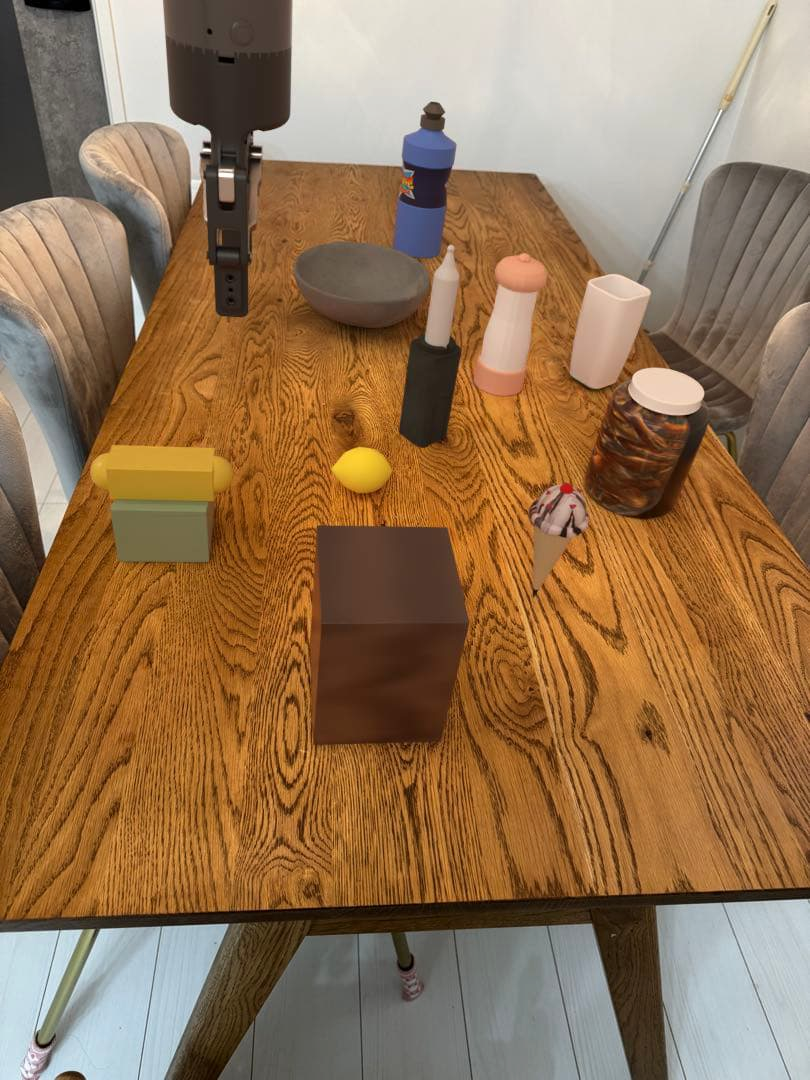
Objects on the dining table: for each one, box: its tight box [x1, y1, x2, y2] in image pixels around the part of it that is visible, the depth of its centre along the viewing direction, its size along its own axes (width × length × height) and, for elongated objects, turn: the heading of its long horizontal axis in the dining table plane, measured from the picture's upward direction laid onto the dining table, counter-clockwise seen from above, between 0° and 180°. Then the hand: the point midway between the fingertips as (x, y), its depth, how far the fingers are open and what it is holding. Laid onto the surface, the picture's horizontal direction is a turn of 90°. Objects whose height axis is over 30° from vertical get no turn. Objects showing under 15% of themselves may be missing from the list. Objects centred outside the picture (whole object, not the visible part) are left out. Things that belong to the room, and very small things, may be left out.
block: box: [109, 499, 216, 563], centre depth 84 cm, size 9×9×7 cm
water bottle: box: [392, 101, 457, 259], centre depth 146 cm, size 9×9×25 cm
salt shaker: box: [472, 252, 548, 397], centre depth 112 cm, size 7×7×19 cm
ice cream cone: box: [528, 482, 590, 599], centre depth 80 cm, size 6×6×15 cm
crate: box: [309, 524, 470, 746], centre depth 69 cm, size 11×11×15 cm
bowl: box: [292, 240, 431, 329], centre depth 127 cm, size 21×21×8 cm
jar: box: [583, 367, 711, 519], centre depth 97 cm, size 12×12×15 cm
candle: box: [398, 244, 462, 448], centre depth 98 cm, size 5×5×25 cm
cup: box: [569, 273, 652, 390], centre depth 118 cm, size 7×7×15 cm
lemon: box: [331, 446, 393, 494], centre depth 94 cm, size 7×5×5 cm
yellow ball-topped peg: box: [89, 444, 235, 501], centre depth 81 cm, size 14×4×4 cm, turn 97°
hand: (235, 288), depth 60 cm, fingers open, 8 cm apart
